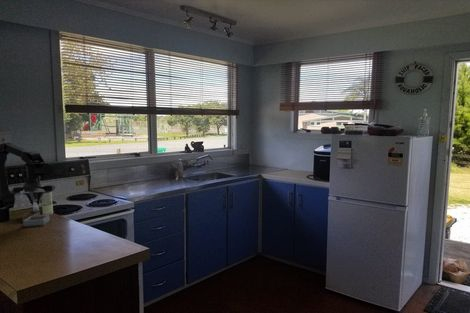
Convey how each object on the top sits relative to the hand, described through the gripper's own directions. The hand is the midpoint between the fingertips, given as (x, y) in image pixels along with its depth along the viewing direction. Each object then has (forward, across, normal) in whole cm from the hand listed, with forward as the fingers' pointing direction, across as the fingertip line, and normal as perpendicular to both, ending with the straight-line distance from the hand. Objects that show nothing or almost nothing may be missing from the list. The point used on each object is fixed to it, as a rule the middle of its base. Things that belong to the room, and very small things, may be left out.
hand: (35, 204), depth 181 cm
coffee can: (+10, -3, +21) cm, 24 cm away
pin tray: (+10, 0, 0) cm, 10 cm away
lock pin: (+4, 0, 0) cm, 4 cm away
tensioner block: (+10, -6, +10) cm, 15 cm away
